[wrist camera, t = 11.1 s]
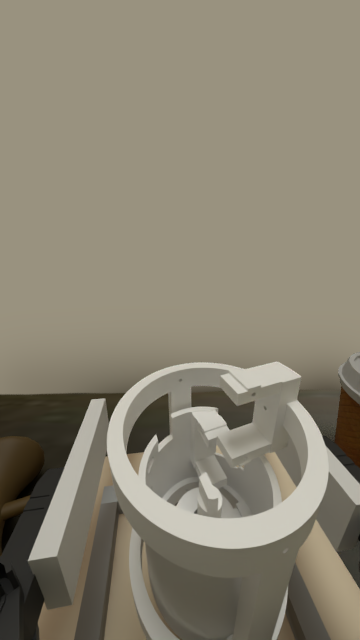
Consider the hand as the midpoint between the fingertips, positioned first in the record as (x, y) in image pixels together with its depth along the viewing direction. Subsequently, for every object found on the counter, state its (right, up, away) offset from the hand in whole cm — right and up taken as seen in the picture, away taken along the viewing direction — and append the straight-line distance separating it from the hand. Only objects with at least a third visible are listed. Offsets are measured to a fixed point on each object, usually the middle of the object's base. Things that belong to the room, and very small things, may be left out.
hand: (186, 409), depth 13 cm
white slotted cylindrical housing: (+1, -11, -1) cm, 11 cm away
